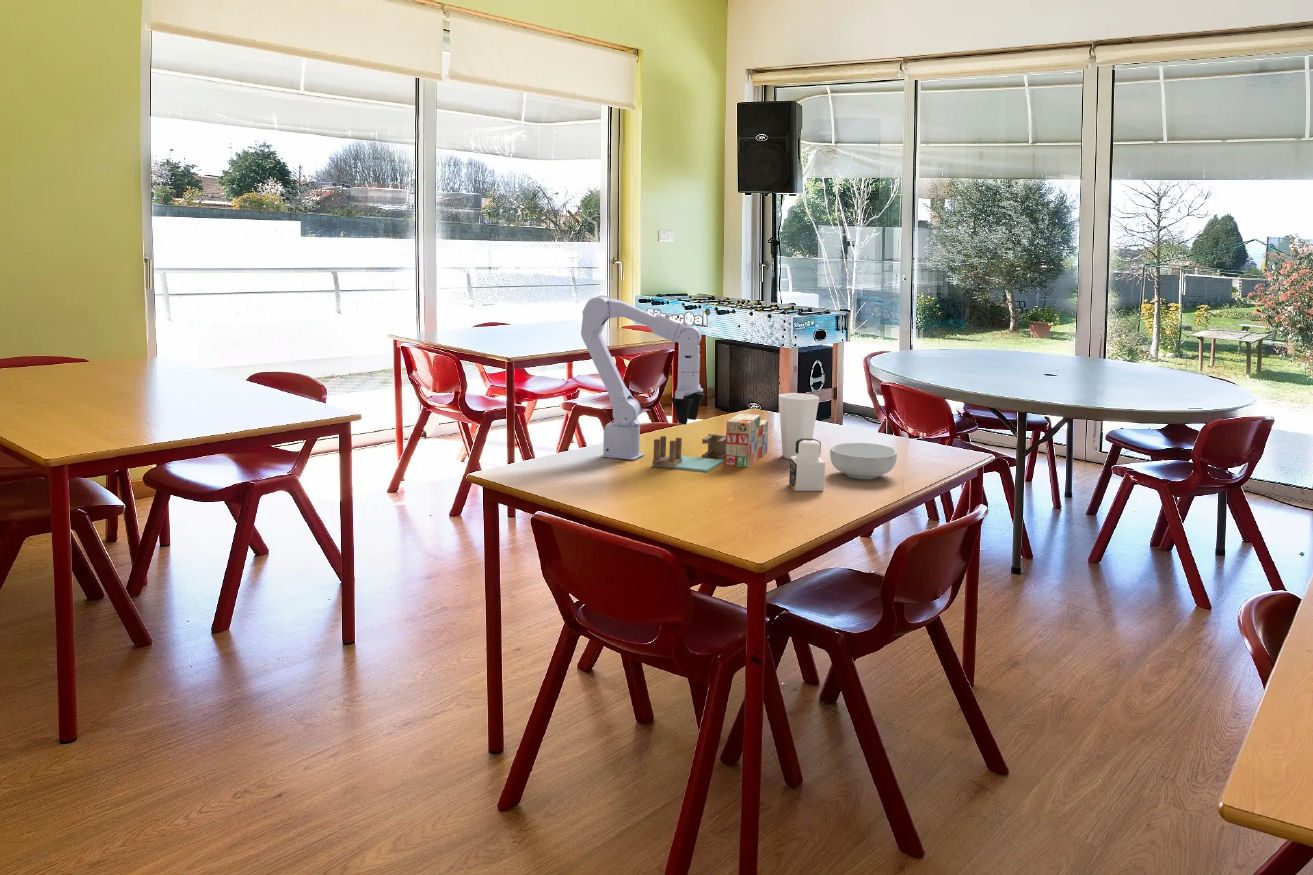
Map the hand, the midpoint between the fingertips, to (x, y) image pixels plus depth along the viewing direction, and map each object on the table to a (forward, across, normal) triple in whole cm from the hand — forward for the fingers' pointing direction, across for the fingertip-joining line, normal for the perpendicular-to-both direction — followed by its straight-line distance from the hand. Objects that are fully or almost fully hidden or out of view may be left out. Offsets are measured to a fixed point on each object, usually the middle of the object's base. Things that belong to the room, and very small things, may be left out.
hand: (687, 421), depth 284 cm
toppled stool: (+8, +2, -6) cm, 10 cm away
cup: (+11, +17, -26) cm, 33 cm away
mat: (+10, -5, -2) cm, 12 cm away
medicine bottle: (+11, -16, -37) cm, 42 cm away
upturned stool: (+10, -9, +2) cm, 14 cm away
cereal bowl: (+11, +3, -47) cm, 48 cm away
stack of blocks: (+11, +9, -14) cm, 20 cm away
